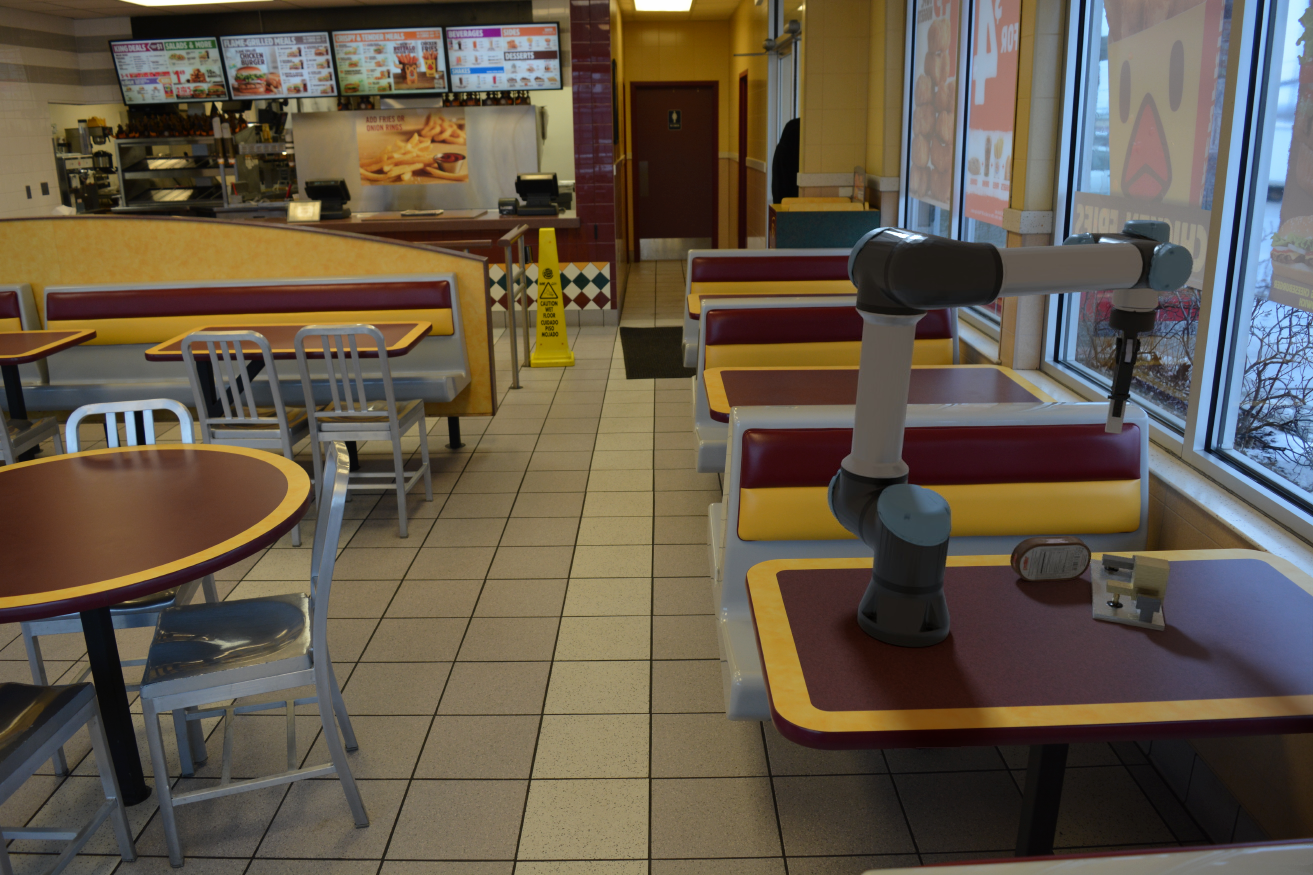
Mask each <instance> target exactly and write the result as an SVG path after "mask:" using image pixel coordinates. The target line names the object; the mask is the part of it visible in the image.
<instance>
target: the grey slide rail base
mask: <svg viewBox="0 0 1313 875" xmlns="http://www.w3.org/2000/svg"><path fill="white" fill-rule="evenodd" d="M1136 555H1137V554H1132V558H1131V557H1127V556H1126V557H1125V556H1119V555H1113V554H1107V553H1102V556H1101V561H1102V565H1104V566H1109V568H1110V569H1114V568H1115V567H1116V568H1122V569H1128V570H1132V573H1133V567H1134V562H1135V557H1136ZM1161 601H1162V599H1161V597H1155V596H1149V595H1144V594H1137V599H1136V605H1135V608H1136V609H1137V614H1138V621H1140V622H1146V623H1151V624H1152V619H1153V614H1154V612H1157V613H1159V611H1160V606H1161V607H1162V605H1161Z"/></svg>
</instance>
